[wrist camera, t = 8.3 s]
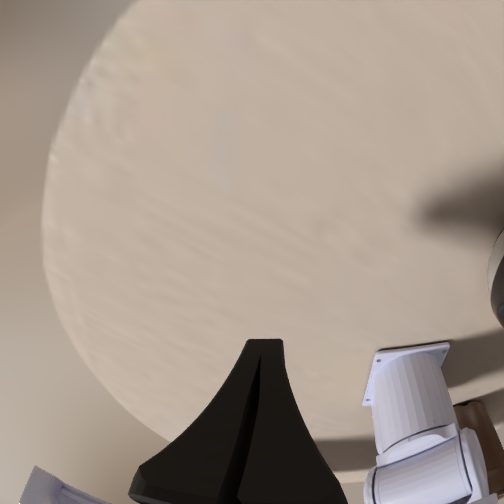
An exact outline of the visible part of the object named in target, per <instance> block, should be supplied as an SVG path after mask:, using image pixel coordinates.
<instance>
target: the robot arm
mask: <svg viewBox="0 0 504 504" xmlns="http://www.w3.org/2000/svg"><path fill="white" fill-rule="evenodd" d="M449 348H450V344H449V343H448V342H444V343H438V344H431V345H424V346H417V347H410V348H402V349H393V350H384V351H378V352H376V353H375V355H374V359H373V364H372V368H371V372H370V376H369V380H368V383H367V387H366V391H365V394H364V398H363V402H362V404H363V406H371V409H372V416H373V424H374V433H375V442H376V448H377V451H378V453H379V455H378V456H376V461H377V465H376V466H374V467H372V468H371V470H370V471H369V473H368V476H367V478H366V480H365V483H364V502H365V504H498V499H497V493H493V494H491V495H489V487H488V482H487V471H486V466H485V461H484V457H483V453H482V450H481V446H480V443H479V440H478V438H477V435H476V433H475V431H474V430H472V429H469V428H467V427H465V428H464V429H462V430H461V429H460V428H459V426H458V422H457V418H456V415H455V411H454V408H453V405H452V401H451V398H450V395H449V392H448V389H447V386H446V383H445V380H444V377H443V374H442V371H441V366H442V364H443V362H444V359H445V357H446V355H447V353H448V350H449ZM128 495H129V497H130V498H131V499H133V500H134V501H136V502H138V503H140V504H348V502H347V499H346V497H345V495H344V492H343V490H342V488H341V485H340V483H339V481H338V479H337V478H336V477H335V475H334V474H333V472H332V471H331V469H330V468H329V466H328V465H327V463H326V462H325V460H324V458H323V457H322V455H321V453H320V452H319V450H318V448H317V446H316V444H315V443H314V441H313V439H312V437H311V435H310V433H309V431H308V429H307V427H306V425H305V423H304V421H303V418H302V416H301V414H300V411H299V409H298V406H297V404H296V401H295V398H294V396H293V393H292V390H291V387H290V383H289V379H288V376H287V372H286V368H285V359H284V347H283V340H281V339H249V340H247V341H246V344H245V346H244V348H243V350H242V353H241V355H240V356H239V358H238V360H237V362H236V364H235V366H234V368H233V369H232V371H231V372H230V374H229V376H228V377H227V379H226V381H225V382H224V384H223V385H222V387H221V388H220V390H219V391H218V392H217V394H216V395H215V397H214V398H213V399H212V401H211V402H210V403H209V405H208V406H207V407H206V408H205V409H204V411H203V412H202V413H201V414H200V415H199V416H198V418H197V419H196V420H195V421H194V422H193V423H192V424H191V425H190V426H189V427H188V428H187V429H186V430H185V431H184V432H183V433H182V434H181V435H180V436H178V437H177V438H176V439H175V440H174V441H173V442H171V443H170V444H169V445H168V446H167V447H166V448H164V449H163V450H162V451H161V452H159V453H158V454H156V455H155V456H153V457H152V458H150V459H149V460H148V461H146V462H145V463H143V464H142V465H140V466H139V468H138V470H137V472H136V474H135V476H134V478H133V481H132V484H131V487H130V490H129V493H128ZM19 504H112V503H109V502H107V501H104V500H102V499H99V498H96V497H94V496H92V495H90V494H87V493H85V492H83V491H81V490H78V489H76V488H74V487H72V486H70V485H68V484H66V483H64V482H63V481H62V480H60V479H59V478H57V477H55V476H54V475H52V474H50V473H48V472H46V471H45V470H43V469H41V468H39V467H38V466H34V468H33V471H32V473H31V475H30V477H29V480H28V482H27V484H26V487H25V489H24V491H23V494H22V496H21V498H20V501H19Z"/></svg>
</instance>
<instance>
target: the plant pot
mask: <svg viewBox="0 0 504 504" xmlns="http://www.w3.org/2000/svg"><path fill="white" fill-rule="evenodd" d="M453 408H454V411H455V415H456V418H457V422H458V426H459V428H460V429H461V430H462V429H464V428H465V427H467V428H469V429H472V430H474V431H475V433H476V435H477V438H478V440H479V443H480V446H481V450H482V453H483V457H484V461H485V466H486V471H487V482H488V487H489V495H491V494H493V493H497V499H498V500H499V499H501V498H503V497H504V449H503V447H502V445H501V442H500V440H499V438H498V435H497V433H496V430H495V428H494V426H493V423H492V421H491V419H490V417H489V415H488V412H487V410H486V408H485V405H484V404H483V403H482V402H479V401H472V402H469V403H468V404H467V405H466V406H459V405H457V406H454V407H453Z"/></svg>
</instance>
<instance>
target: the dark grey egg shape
mask: <svg viewBox="0 0 504 504" xmlns="http://www.w3.org/2000/svg"><path fill="white" fill-rule="evenodd" d="M488 288H489V293H490V297H491V307H492V310H493V313H494V315H495V316H496V318H497V320H498V321H499V323H500V324H501V326H502V327H503V328H504V230H503V231H502V233H501V234H500V236H499V237H498V239H497V241H496V243H495V245H494V247H493V250H492V253H491V256H490V260H489V265H488Z"/></svg>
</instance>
